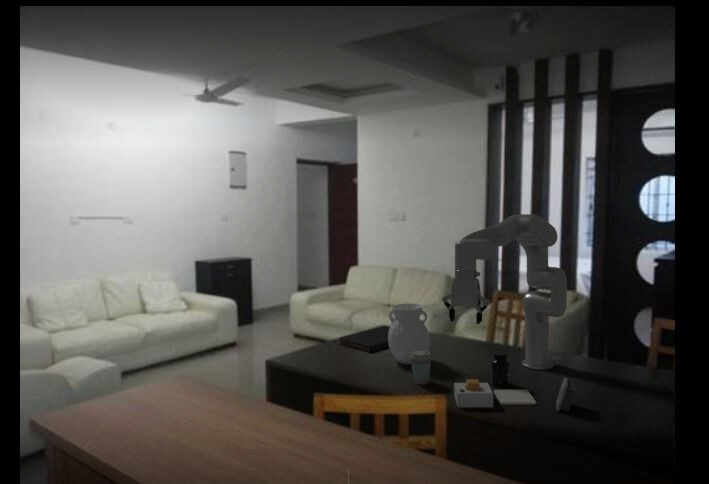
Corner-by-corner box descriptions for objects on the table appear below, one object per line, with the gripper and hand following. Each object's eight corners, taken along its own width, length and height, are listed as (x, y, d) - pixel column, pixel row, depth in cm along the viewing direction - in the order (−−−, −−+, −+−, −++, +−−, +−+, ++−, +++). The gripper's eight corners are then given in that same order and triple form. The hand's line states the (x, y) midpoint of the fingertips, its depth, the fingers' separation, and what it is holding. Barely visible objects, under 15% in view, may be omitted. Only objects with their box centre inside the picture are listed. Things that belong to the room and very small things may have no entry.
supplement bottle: (510, 387, 191) (510, 356, 190) (491, 387, 193) (491, 356, 192) (508, 381, 198) (508, 351, 197) (490, 380, 199) (490, 350, 198)
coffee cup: (418, 387, 195) (418, 356, 194) (406, 380, 202) (405, 351, 202) (436, 383, 199) (436, 353, 198) (424, 376, 206) (423, 348, 205)
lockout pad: (527, 391, 187) (527, 389, 187) (536, 404, 175) (536, 402, 175) (494, 391, 188) (493, 389, 188) (500, 404, 176) (500, 402, 176)
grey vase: (382, 366, 222) (381, 309, 220) (395, 353, 239) (394, 301, 237) (424, 369, 215) (423, 311, 213) (434, 357, 232) (433, 303, 230)
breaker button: (477, 391, 181) (477, 379, 181) (479, 395, 177) (479, 383, 177) (466, 391, 181) (466, 379, 181) (468, 395, 177) (467, 383, 177)
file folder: (384, 325, 281) (417, 332, 263) (384, 332, 281) (417, 340, 263) (338, 337, 259) (371, 346, 241) (338, 345, 259) (371, 355, 241)
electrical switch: (556, 401, 177) (559, 375, 176) (572, 404, 175) (575, 378, 174) (556, 411, 169) (559, 385, 168) (573, 415, 167) (576, 388, 166)
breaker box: (487, 396, 184) (487, 381, 184) (493, 407, 174) (492, 391, 174) (454, 396, 185) (454, 381, 184) (457, 407, 175) (457, 392, 175)
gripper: (492, 275, 181) (492, 322, 182) (446, 272, 190) (446, 317, 191) (486, 277, 174) (486, 326, 175) (438, 274, 183) (439, 321, 184)
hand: (465, 322), depth 183 cm, fingers open, 9 cm apart
